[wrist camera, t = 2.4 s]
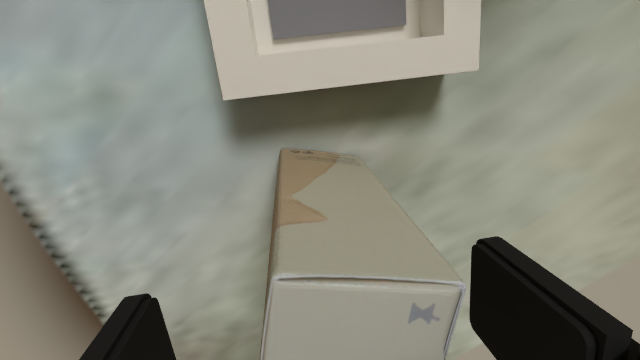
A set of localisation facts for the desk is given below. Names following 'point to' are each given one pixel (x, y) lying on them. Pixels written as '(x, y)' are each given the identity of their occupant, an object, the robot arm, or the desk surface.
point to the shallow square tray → (338, 42)
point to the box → (351, 269)
